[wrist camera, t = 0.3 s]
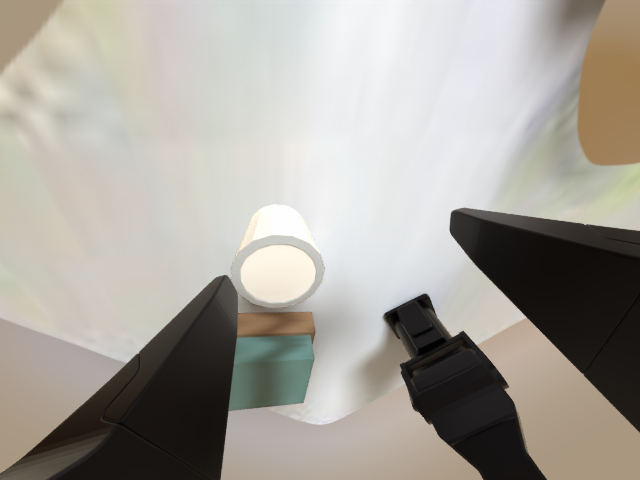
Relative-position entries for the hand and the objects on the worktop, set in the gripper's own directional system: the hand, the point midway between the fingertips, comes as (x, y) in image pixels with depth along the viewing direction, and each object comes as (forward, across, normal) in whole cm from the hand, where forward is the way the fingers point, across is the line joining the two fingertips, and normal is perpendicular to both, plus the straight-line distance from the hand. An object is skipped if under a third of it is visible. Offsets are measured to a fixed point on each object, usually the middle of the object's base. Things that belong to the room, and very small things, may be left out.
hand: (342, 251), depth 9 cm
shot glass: (+14, +4, +5) cm, 15 cm away
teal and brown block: (+14, +10, +20) cm, 26 cm away
